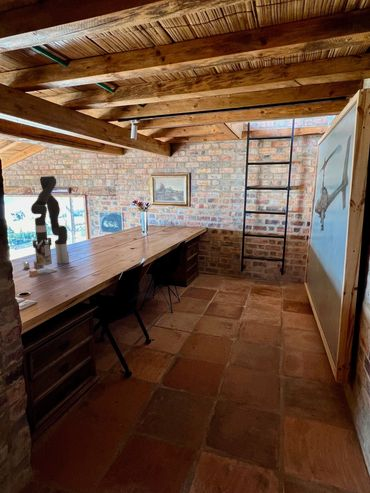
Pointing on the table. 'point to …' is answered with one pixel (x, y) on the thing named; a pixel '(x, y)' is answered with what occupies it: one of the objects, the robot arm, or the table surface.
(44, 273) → the slate mat
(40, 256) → the coffee box
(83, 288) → the table surface
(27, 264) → the steel cylinder
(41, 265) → the walnut block
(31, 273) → the terracotta block
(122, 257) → the table surface
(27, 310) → the table surface
